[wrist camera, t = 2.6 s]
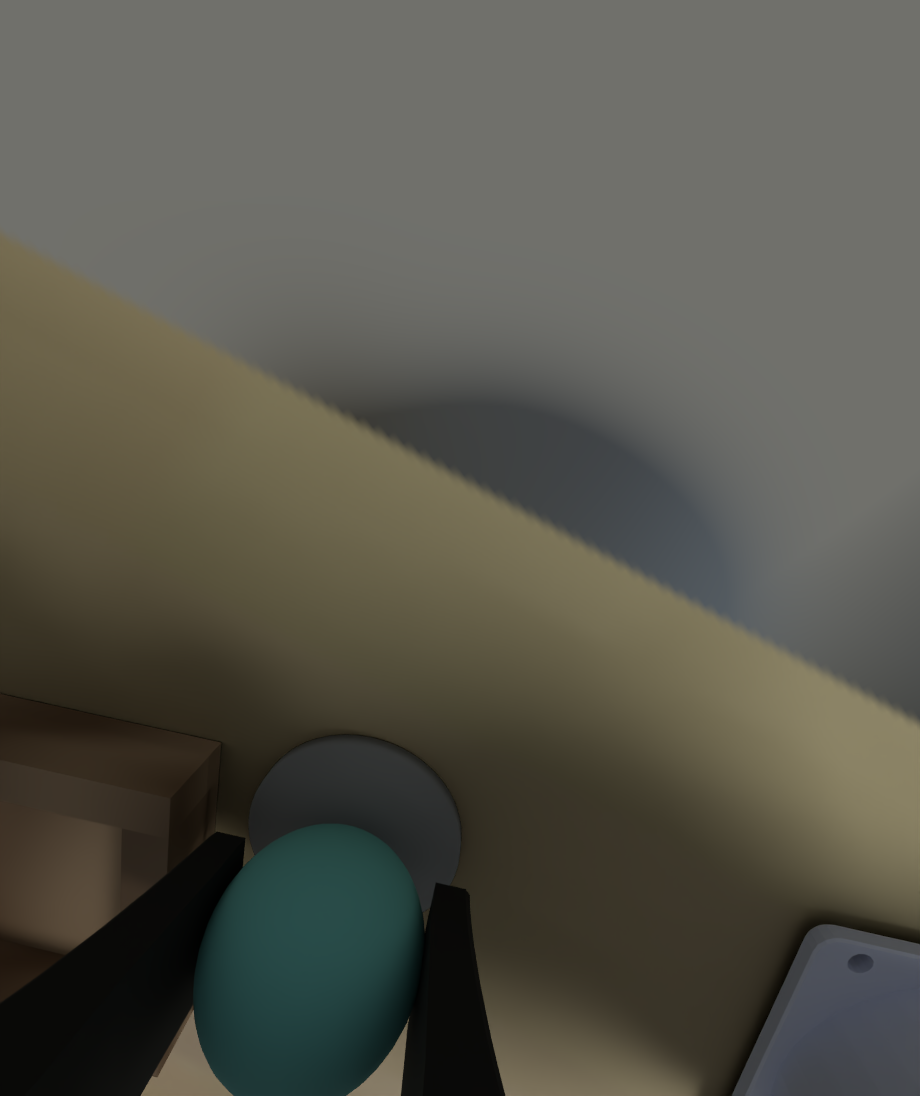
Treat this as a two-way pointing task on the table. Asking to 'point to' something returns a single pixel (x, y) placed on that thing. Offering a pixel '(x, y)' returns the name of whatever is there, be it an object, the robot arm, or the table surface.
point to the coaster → (364, 803)
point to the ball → (309, 965)
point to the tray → (89, 825)
